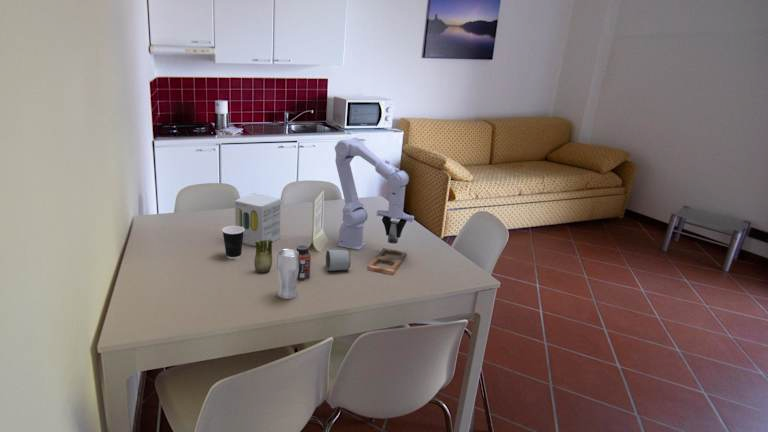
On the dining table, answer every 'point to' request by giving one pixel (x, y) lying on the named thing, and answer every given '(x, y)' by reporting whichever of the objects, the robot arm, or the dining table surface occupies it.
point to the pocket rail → (387, 261)
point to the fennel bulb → (263, 256)
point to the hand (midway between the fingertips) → (393, 235)
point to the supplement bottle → (303, 262)
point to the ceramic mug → (337, 260)
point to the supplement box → (258, 218)
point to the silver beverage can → (287, 272)
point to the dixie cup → (233, 241)
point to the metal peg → (393, 232)
